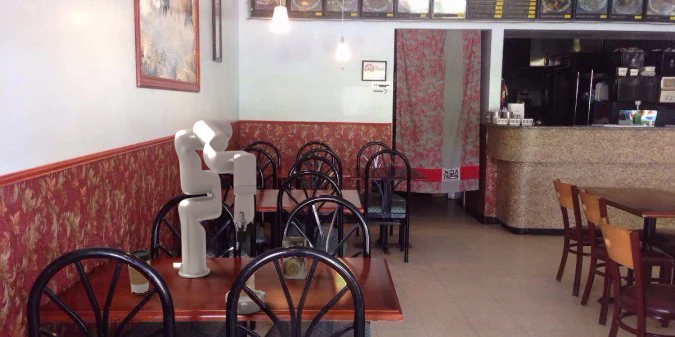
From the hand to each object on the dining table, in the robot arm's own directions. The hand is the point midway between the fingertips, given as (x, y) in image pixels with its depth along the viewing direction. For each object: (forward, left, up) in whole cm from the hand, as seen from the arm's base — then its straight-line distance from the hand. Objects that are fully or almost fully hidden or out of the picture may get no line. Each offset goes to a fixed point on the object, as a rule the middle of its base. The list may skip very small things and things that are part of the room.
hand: (245, 238), depth 188 cm
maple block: (0, 0, -20) cm, 20 cm away
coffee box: (+12, +34, -24) cm, 43 cm away
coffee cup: (-43, +11, -24) cm, 51 cm away
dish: (0, 0, -25) cm, 25 cm away
